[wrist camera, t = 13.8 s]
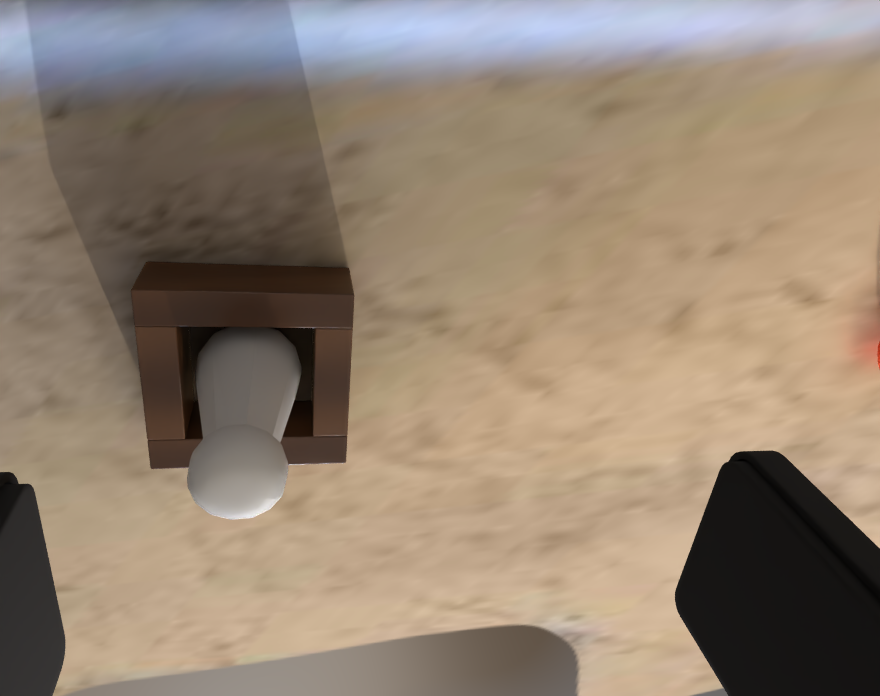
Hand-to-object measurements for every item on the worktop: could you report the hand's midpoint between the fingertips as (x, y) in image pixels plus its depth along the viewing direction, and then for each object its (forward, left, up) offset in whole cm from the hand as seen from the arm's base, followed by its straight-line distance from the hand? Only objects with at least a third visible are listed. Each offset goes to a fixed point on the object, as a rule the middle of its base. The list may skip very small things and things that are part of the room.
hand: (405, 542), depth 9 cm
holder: (+13, -4, -30) cm, 33 cm away
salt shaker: (+13, -4, -30) cm, 33 cm away
